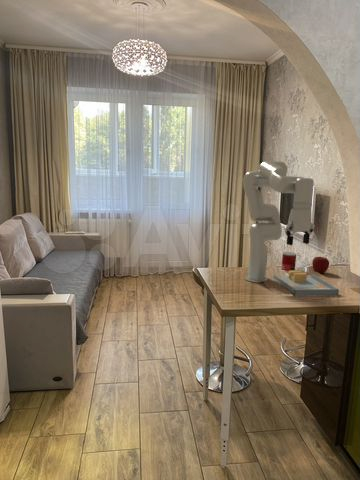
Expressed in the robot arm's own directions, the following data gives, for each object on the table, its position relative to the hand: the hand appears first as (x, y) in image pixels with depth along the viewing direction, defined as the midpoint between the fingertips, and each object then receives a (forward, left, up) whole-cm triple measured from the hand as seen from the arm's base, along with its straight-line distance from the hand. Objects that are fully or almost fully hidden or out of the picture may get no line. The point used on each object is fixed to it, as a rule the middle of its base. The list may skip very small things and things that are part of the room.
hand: (297, 243), depth 165 cm
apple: (-45, +39, -28) cm, 66 cm away
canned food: (-50, +21, -28) cm, 61 cm away
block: (-28, +16, -27) cm, 42 cm away
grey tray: (-20, +16, -28) cm, 38 cm away
